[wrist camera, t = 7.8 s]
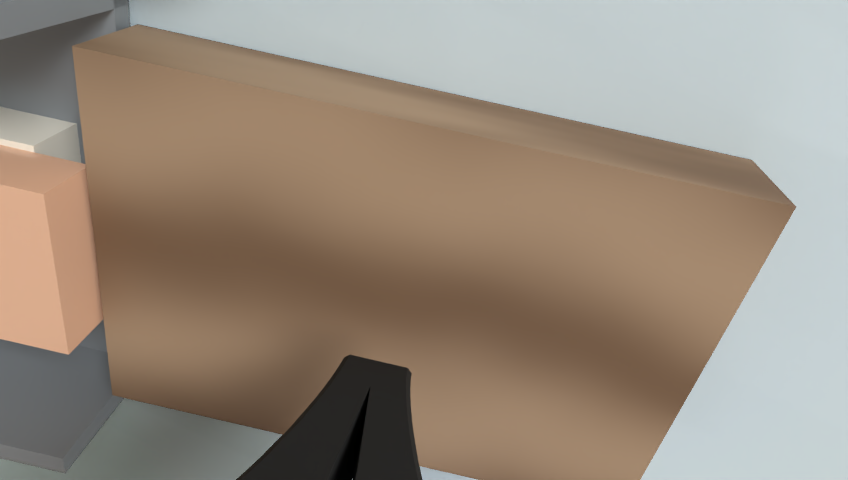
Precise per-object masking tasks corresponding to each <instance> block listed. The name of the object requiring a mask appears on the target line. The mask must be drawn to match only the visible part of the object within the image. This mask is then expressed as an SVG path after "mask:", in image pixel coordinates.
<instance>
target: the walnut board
mask: <svg viewBox="0 0 848 480" xmlns="http://www.w3.org/2000/svg"><path fill="white" fill-rule="evenodd" d="M72 52H73V60H74V69H75V78H76V86H77V95H78V104H79V112H80V121H81V129H82V138H83V147H84V155H85V164H86V172H87V181H88V190H89V198H90V207H91V215H92V224H93V233H94V241H95V250H96V259H97V267H98V276H99V284H100V293H101V302H102V310H103V319H104V327H105V336H106V345H107V353H108V362H109V371H110V379H111V388H112V395H114V396H118V397H123V398H127V399H131V400H136V401H140V402H144V403H149V404H153V405H157V406H162V407H166V408H170V409H175V410H179V411H183V412H188V413H192V414H196V415H201V416H205V417H210V418H214V419H218V420H223V421H227V422H231V423H236V424H240V425H244V426H249V427H253V428H257V429H262V430H266V431H270V432H275V433H279V434H284V433H285V432H286V431H287V430H288V429H289V428H290V427H291V426H292V424H293V423H294V422H295V421H296V420H297V419H298V418H299V417H300V415H301V414H302V413H303V412H304V411H305V410H306V408H307V407H308V406H309V405H310V404H311V403H312V401H313V400H314V399H315V398H316V397H317V395H318V394H319V393H320V392H321V390H322V389H323V388H324V386H325V385H326V384H327V382H328V381H329V380H330V378H331V377H332V376H333V374H334V373H335V371H336V370H337V368H338V367H339V365H340V363H341V362H342V360H343V358H344V357H346V356H348V355H354V356H359V357H363V358H367V359H372V360H376V361H380V362H385V363H389V364H393V365H398V366H402V367H406V368H408V369H409V370H410V372H411V373H412V375H411V387H410V398H411V413H412V424H413V431H414V438H415V444H416V450H417V456H418V462H419V466H422V467H426V468H431V469H435V470H439V471H444V472H448V473H452V474H457V475H461V476H465V477H470V478H474V479H478V480H640V479H641V477H642V475H643V474H644V472H645V470H646V468H647V467H648V465H649V463H650V461H651V460H652V458H653V456H654V454H655V453H656V451H657V449H658V447H659V446H660V444H661V442H662V441H663V439H664V437H665V435H666V434H667V432H668V430H669V428H670V427H671V425H672V423H673V421H674V420H675V418H676V416H677V414H678V413H679V411H680V409H681V407H682V406H683V404H684V402H685V400H686V399H687V397H688V395H689V393H690V392H691V390H692V388H693V386H694V385H695V383H696V381H697V379H698V378H699V376H700V374H701V372H702V371H703V369H704V367H705V365H706V364H707V362H708V360H709V358H710V357H711V355H712V353H713V351H714V350H715V348H716V346H717V344H718V343H719V341H720V339H721V337H722V336H723V334H724V332H725V330H726V329H727V327H728V325H729V323H730V322H731V320H732V318H733V316H734V315H735V313H736V311H737V309H738V308H739V306H740V304H741V302H742V301H743V299H744V297H745V295H746V294H747V292H748V290H749V288H750V287H751V285H752V283H753V281H754V280H755V278H756V276H757V274H758V273H759V271H760V269H761V267H762V266H763V264H764V262H765V260H766V259H767V257H768V255H769V253H770V252H771V250H772V248H773V246H774V245H775V243H776V241H777V239H778V238H779V236H780V234H781V232H782V231H783V229H784V227H785V225H786V224H787V222H788V220H789V218H790V217H791V215H792V213H793V211H794V210H795V208H796V206H795V205H794V204H793V203H792V202H791V201H790V200H789V199H788V198H787V197H786V196H785V194H784V193H783V192H782V191H781V190H780V189H779V188H778V187H777V186H776V185H775V184H774V183H773V182H772V181H771V180H770V179H769V178H768V176H767V175H766V174H765V173H764V172H763V171H762V170H761V169H760V168H759V167H758V166H757V165H756V164H755V163H754V162H753V161H752V160H749V159H745V158H740V157H736V156H731V155H727V154H722V153H718V152H713V151H709V150H704V149H699V148H695V147H690V146H686V145H681V144H677V143H672V142H668V141H663V140H659V139H654V138H650V137H645V136H641V135H636V134H632V133H627V132H623V131H618V130H614V129H609V128H604V127H600V126H595V125H591V124H586V123H582V122H577V121H573V120H568V119H564V118H559V117H555V116H550V115H546V114H541V113H537V112H532V111H528V110H523V109H519V108H514V107H510V106H505V105H500V104H496V103H491V102H487V101H482V100H478V99H473V98H469V97H464V96H460V95H455V94H451V93H446V92H442V91H437V90H433V89H428V88H424V87H419V86H415V85H410V84H406V83H401V82H396V81H392V80H387V79H383V78H378V77H374V76H369V75H365V74H360V73H356V72H351V71H347V70H342V69H338V68H333V67H329V66H324V65H320V64H315V63H311V62H306V61H301V60H297V59H292V58H288V57H283V56H279V55H274V54H270V53H265V52H261V51H256V50H252V49H247V48H243V47H238V46H234V45H229V44H225V43H220V42H216V41H211V40H207V39H202V38H197V37H193V36H188V35H184V34H179V33H175V32H170V31H166V30H161V29H157V28H152V27H148V26H143V25H139V24H137V25H134V26H131V27H128V28H125V29H122V30H119V31H116V32H113V33H110V34H107V35H104V36H101V37H98V38H95V39H92V40H89V41H85V42H82V43H79V44H76V45H73V46H72Z"/></svg>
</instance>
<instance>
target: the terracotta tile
mask: <svg viewBox="0 0 848 480" xmlns="http://www.w3.org/2000/svg"><path fill="white" fill-rule="evenodd" d="M102 320H103V310H102V302H101V293H100V284H99V276H98V267H97V259H96V250H95V241H94V233H93V224H92V215H91V207H90V198H89V190H88V181H87V172H86V164H83V163H79V162H74V161H70V160H65V159H61V158H57V157H52V156H48V155H43V154H39V153H35V152H30V151H26V150H21V149H17V148H13V147H8V146H4V145H0V339H3V340H7V341H12V342H16V343H20V344H25V345H29V346H33V347H38V348H42V349H46V350H50V351H55V352H59V353H63V354H68V355H69V354H70V353H71V352H72V351H73V350H74V349H75V348H76V347H77V346H78V345H79V344H80V343H81V342H82V341H83V340H84V338H85V337H86V336H87V335H88V334H89V333H90V332H91V331H92V330H93V329H94V328H95V327H96V326H97V325H98V324H99V323H100V322H101V321H102Z"/></svg>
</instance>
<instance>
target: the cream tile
mask: <svg viewBox="0 0 848 480" xmlns="http://www.w3.org/2000/svg"><path fill="white" fill-rule="evenodd" d="M0 145H4V146H8V147H13V148H17V149H21V150H26V151H30V152H35V153H39V154H43V155H48V156H52V157H57V158H61V159H65V160H70V161H74V162H79V163H81V155H80V146H79V138H78V130H77V124H76V123H72V122H67V121H63V120H58V119H54V118H49V117H45V116H40V115H36V114H31V113H27V112H22V111H18V110H13V109H9V108H4V107H0Z"/></svg>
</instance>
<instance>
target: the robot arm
mask: <svg viewBox="0 0 848 480" xmlns="http://www.w3.org/2000/svg"><path fill="white" fill-rule="evenodd" d="M411 375H412V373H411V372H410V370H409V369H408V368H406V367H402V366H398V365H393V364H389V363H385V362H380V361H376V360H372V359H367V358H363V357H359V356H354V355H348V356H346V357H344V358H343V360H342V362H341V363H340V365H339V367H338V368H337V370H336V371H335V373H334V374H333V376H332V377H331V378H330V380H329V381H328V382H327V384H326V385H325V386H324V388H323V389H322V390H321V392H320V393H319V394H318V395H317V397H316V398H315V399H314V400H313V401H312V403H311V404H310V405H309V406H308V407H307V408H306V410H305V411H304V412H303V413H302V414H301V415H300V417H299V418H298V419H297V420H296V421H295V422H294V423H293V424H292V426H291V427H290V428H289V429H288V430H287V431H286V432H285V433H284V434H283V435H282V436H281V437H280V438H279V439H278V440H277V441H276V442H275V443H274V444H273V445H272V446H271V447H270V448H269V449H268V450H267V451H266V452H265V453H264V454H263V455H262V456H261V457H260V458H259V459H258V460H257V461H256V462H255V463H254V464H253V465H252V466H251V467H250V468H249V469H248V470H246V471H245V472H244V473H243V474H242V475H241V476H240V477H239V478H237V479H236V480H352V478H353V480H422V476H421V472H420V467H419V462H418V456H417V450H416V444H415V438H414V431H413V424H412V413H411V398H410V387H411Z"/></svg>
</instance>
